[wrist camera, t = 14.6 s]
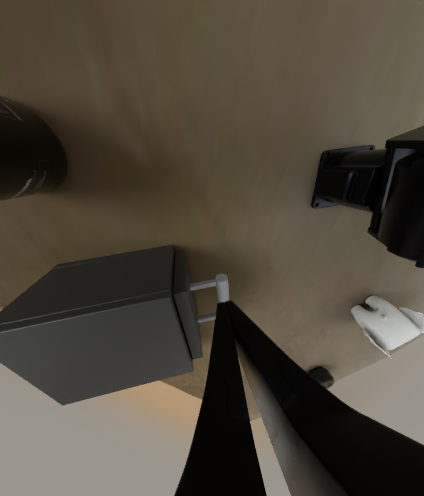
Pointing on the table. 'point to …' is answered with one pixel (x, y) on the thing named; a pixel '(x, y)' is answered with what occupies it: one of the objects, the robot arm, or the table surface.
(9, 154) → the supplement bottle
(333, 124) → the table surface
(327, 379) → the tape measure
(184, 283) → the box with white handle
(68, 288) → the grey lidded box
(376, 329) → the elephant figurine
